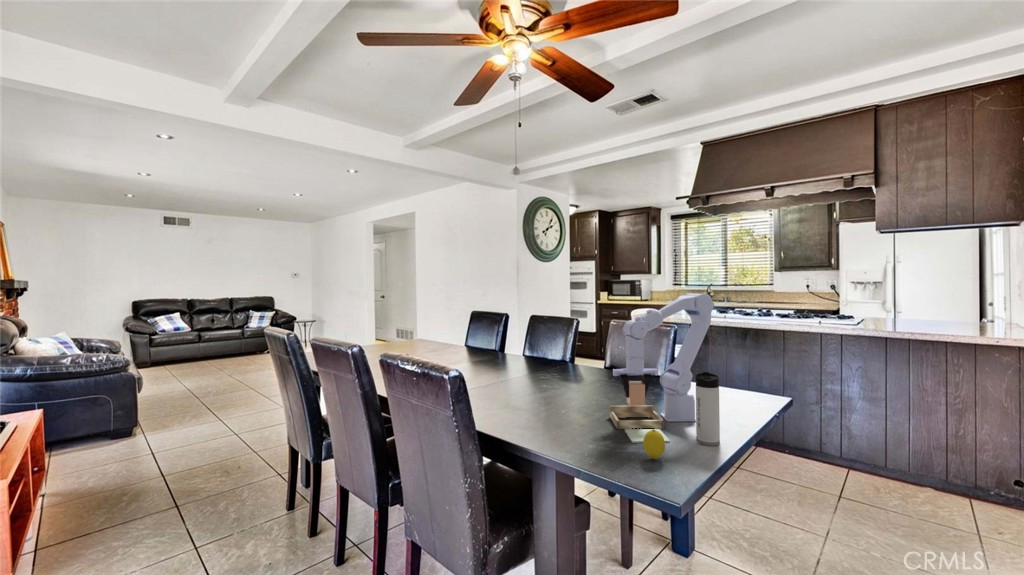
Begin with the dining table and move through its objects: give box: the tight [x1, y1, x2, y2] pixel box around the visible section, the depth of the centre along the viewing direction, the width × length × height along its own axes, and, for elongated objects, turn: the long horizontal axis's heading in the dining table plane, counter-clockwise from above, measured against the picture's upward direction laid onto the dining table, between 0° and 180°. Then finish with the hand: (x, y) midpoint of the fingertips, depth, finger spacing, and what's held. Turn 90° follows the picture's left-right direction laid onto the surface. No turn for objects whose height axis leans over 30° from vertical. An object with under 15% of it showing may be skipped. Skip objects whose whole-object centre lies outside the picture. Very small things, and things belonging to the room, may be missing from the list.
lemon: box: [642, 428, 666, 460], centre depth 116 cm, size 6×6×8 cm
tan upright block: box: [626, 380, 646, 406], centre depth 146 cm, size 5×5×7 cm
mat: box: [624, 428, 671, 444], centre depth 133 cm, size 11×10×1 cm
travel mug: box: [695, 371, 721, 447], centre depth 128 cm, size 6×7×20 cm
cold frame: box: [609, 404, 665, 430], centre depth 146 cm, size 15×12×4 cm
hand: (635, 396), depth 146 cm, fingers closed on tan upright block, 5 cm apart
